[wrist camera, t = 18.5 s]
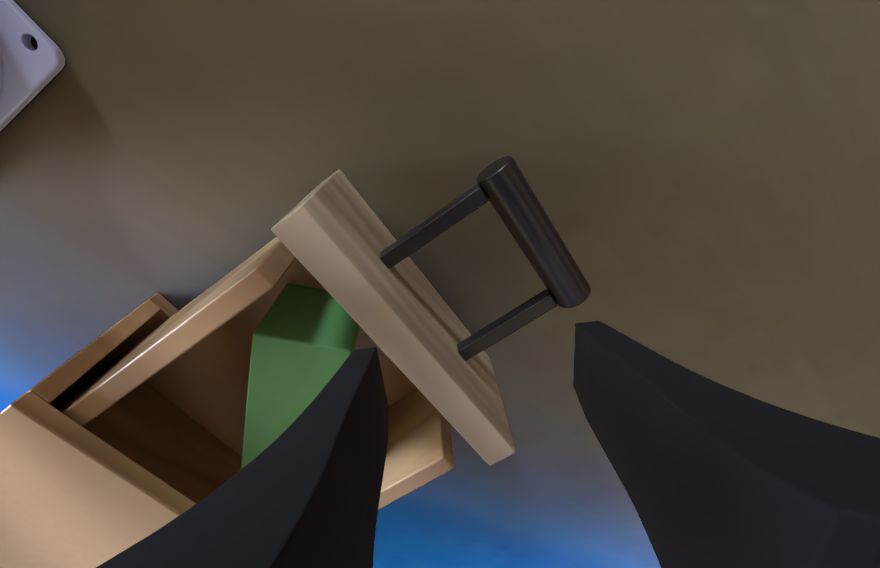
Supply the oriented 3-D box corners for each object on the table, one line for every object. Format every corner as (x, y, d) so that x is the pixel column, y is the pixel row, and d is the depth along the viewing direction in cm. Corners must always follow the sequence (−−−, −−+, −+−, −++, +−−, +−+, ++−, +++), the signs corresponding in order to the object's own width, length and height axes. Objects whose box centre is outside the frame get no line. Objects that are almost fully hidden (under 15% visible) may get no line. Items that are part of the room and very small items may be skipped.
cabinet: (158, 291, 20) (10, 403, 13) (337, 449, 24) (305, 596, 17) (-32, 440, 23) (-238, 599, 16) (160, 555, 28) (70, 717, 20)
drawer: (454, 79, 16) (474, 71, 10) (588, 299, 20) (655, 378, 14) (109, 346, 20) (-13, 446, 14) (282, 481, 24) (242, 599, 19)
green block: (287, 281, 18) (251, 332, 14) (365, 297, 18) (352, 351, 14) (272, 406, 21) (239, 477, 17) (340, 417, 21) (323, 488, 17)
